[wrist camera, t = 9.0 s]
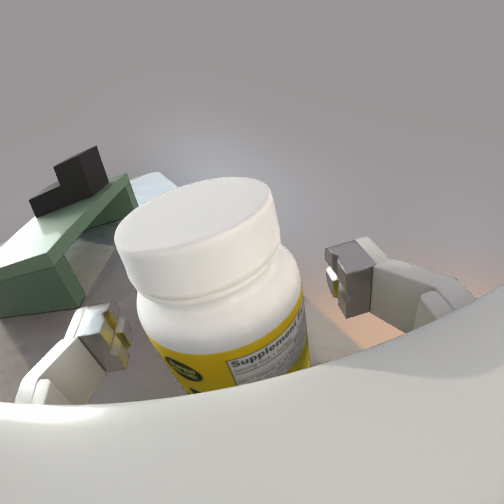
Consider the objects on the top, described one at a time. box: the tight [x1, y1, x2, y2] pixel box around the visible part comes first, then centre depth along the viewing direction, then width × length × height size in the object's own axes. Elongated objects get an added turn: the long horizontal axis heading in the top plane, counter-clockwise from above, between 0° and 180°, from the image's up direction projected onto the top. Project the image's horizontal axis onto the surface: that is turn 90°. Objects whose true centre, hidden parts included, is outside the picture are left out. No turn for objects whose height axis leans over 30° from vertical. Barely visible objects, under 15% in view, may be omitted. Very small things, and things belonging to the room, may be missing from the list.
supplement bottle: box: [114, 177, 310, 395], centre depth 9 cm, size 5×5×8 cm
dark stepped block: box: [29, 146, 109, 218], centre depth 27 cm, size 9×4×5 cm, turn 93°
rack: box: [0, 173, 139, 318], centre depth 26 cm, size 12×18×5 cm, turn 3°
